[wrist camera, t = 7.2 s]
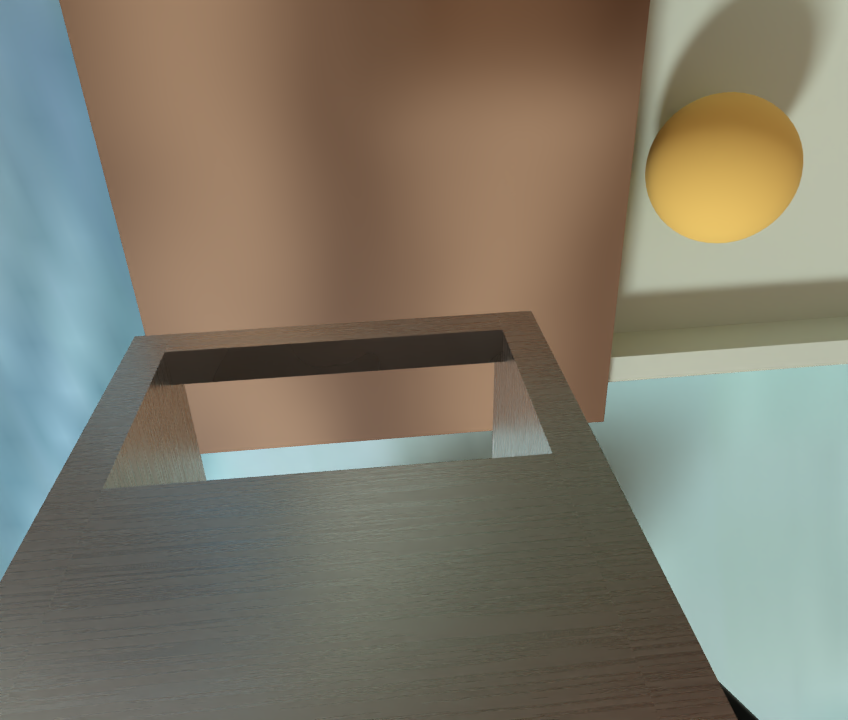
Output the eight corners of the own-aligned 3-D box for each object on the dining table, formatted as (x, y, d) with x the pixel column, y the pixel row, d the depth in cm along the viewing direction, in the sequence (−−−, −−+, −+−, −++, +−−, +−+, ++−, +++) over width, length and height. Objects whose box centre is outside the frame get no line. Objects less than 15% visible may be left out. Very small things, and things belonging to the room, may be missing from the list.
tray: (1082, -133, 17) (1165, -143, 15) (921, 323, 23) (968, 354, 21) (622, -117, 16) (654, -126, 14) (582, 348, 22) (601, 382, 20)
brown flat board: (626, -172, 16) (671, -192, 13) (579, 376, 23) (603, 421, 20) (63, -156, 15) (13, -174, 13) (194, 405, 22) (176, 455, 20)
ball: (823, 82, 17) (810, 108, 14) (795, 226, 19) (778, 272, 16) (671, 80, 18) (634, 103, 16) (658, 212, 20) (622, 252, 18)
